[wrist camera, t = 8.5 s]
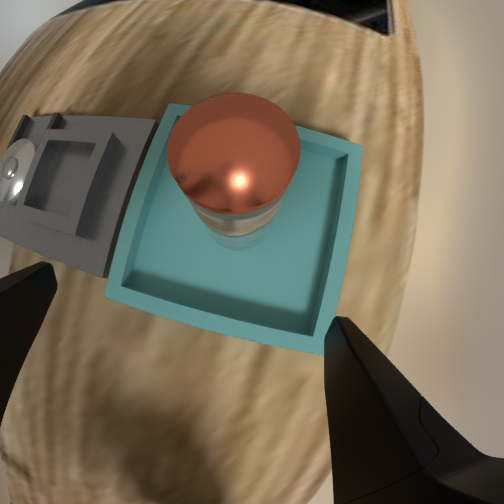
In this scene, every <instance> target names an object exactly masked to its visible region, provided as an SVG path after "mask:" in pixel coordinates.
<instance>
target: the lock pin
mask: <svg viewBox="0 0 504 504" xmlns="http://www.w3.org/2000/svg"><path fill="white" fill-rule="evenodd" d="M300 155H301V144H300V138H299V135H298V132H297V129H296V127H295V125H294V124H293V122H292V120H291V119H290V118H289V116H288V115H287V114H286V113H285V112H284V111H283V110H282V109H280V108H279V107H278V106H276V105H275V104H274V103H272V102H270V101H268V100H266V99H264V98H261V97H258V96H254V95H250V94H244V93H227V94H221V95H216V96H213V97H210V98H207V99H205V100H203V101H201V102H199V103H197V104H195V105H194V106H192V107H191V108H190V109H188V110H187V111H186V112H185V113H184V114H183V115H182V116H181V117H180V118H179V120H178V121H177V122H176V124H175V125H174V127H173V129H172V131H171V134H170V136H169V139H168V144H167V162H168V166H169V169H170V172H171V174H172V176H173V178H174V180H175V181H176V183H177V184H178V186H179V187H180V189H181V190H182V192H183V193H184V195H185V196H186V198H187V200H188V201H189V203H190V204H191V206H192V207H193V209H194V210H195V212H196V213H197V215H198V216H199V218H200V219H201V221H202V222H203V224H204V225H205V226H206V228H207V229H208V231H209V232H210V234H211V235H212V237H213V238H214V239H215V241H216V242H217V243H219V244H220V245H221V246H223V247H225V248H227V249H230V250H237V251H240V250H247V249H250V248H252V247H254V246H256V245H257V244H259V243H260V242H261V241H262V240H263V239H264V237H265V236H266V234H267V232H268V230H269V228H270V226H271V223H272V221H273V219H274V217H275V215H276V213H277V211H278V208H279V206H280V204H281V202H282V200H283V198H284V196H285V193H286V191H287V189H288V187H289V185H290V183H291V180H292V178H293V176H294V174H295V172H296V170H297V167H298V164H299V161H300Z"/></svg>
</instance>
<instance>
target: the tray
mask: <svg viewBox="0 0 504 504" xmlns="http://www.w3.org/2000/svg"><path fill="white" fill-rule="evenodd" d="M191 107H192V105H183V104H174V103H169V105H168V107H167V109H166V111H165V113H164V116H163V118H162V120H161V122H160V124H159V127H158V129H157V131H156V133H155V136H154V138H153V140H152V143H151V145H150V148H149V150H148V152H147V155H146V157H145V160H144V163H143V165H142V168H141V170H140V173H139V176H138V179H137V181H136V184H135V187H134V190H133V193H132V196H131V199H130V202H129V205H128V208H127V211H126V214H125V217H124V220H123V224H122V227H121V231H120V234H119V238H118V241H117V245H116V249H115V252H114V256H113V260H112V264H111V269H110V273H109V277H108V282H107V286H106V291H105V296H104V297H106V298H109V299H112V300H114V301H117V302H120V303H123V304H126V305H128V306H131V307H134V308H137V309H140V310H143V311H146V312H149V313H152V314H155V315H158V316H162V317H165V318H168V319H171V320H175V321H178V322H181V323H185V324H188V325H192V326H195V327H199V328H202V329H206V330H210V331H213V332H217V333H221V334H225V335H229V336H233V337H237V338H241V339H245V340H249V341H254V342H258V343H263V344H267V345H272V346H277V347H281V348H286V349H291V350H297V351H302V352H307V353H313V354H319V355H324V338H325V335H326V333H327V330H328V328H329V326H330V324H331V322H332V320H333V318H334V317H335V313H336V309H337V304H338V300H339V296H340V291H341V287H342V282H343V278H344V273H345V268H346V263H347V258H348V252H349V247H350V241H351V236H352V230H353V223H354V217H355V210H356V203H357V196H358V188H359V180H360V172H361V162H362V151H363V146H361V145H358V144H355V143H352V142H349V141H346V140H343V139H340V138H337V137H334V136H331V135H327V134H324V133H321V132H317V131H314V130H310V129H307V128H303V127H299V126H296V125H295V127H296V129H297V132H298V135H299V138H300V144H301V155H300V161H299V164H298V167H297V170H296V172H295V174H294V176H293V178H292V180H291V183H290V185H289V187H288V189H287V191H286V193H285V196H284V198H283V200H282V202H281V204H280V206H279V208H278V211H277V213H276V215H275V217H274V219H273V221H272V223H271V226H270V228H269V230H268V232H267V234H266V236H265V237H264V239H263V240H262V241H261V242H260V243H259V244H257V245H256V246H254V247H252V248H250V249H247V250H240V251H237V250H230V249H227V248H225V247H223V246H221V245H220V244H219V243H217V242H216V241H215V239H214V238H213V237H212V235H211V234H210V232H209V231H208V229H207V228H206V226H205V225H204V224H203V222H202V221H201V219H200V218H199V216H198V215H197V213H196V212H195V210H194V209H193V207H192V206H191V204H190V203H189V201H188V200H187V198H186V196H185V195H184V193H183V192H182V190H181V189H180V187H179V186H178V184H177V183H176V181H175V180H174V178H173V176H172V174H171V172H170V169H169V166H168V162H167V144H168V139H169V136H170V134H171V131H172V129H173V127H174V125H175V124H176V122H177V121H178V120H179V118H180V117H181V116H182V115H183V114H184V113H185V112H186V111H187V110H188V109H190V108H191Z"/></svg>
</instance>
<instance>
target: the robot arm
mask: <svg viewBox="0 0 504 504" xmlns="http://www.w3.org/2000/svg"><path fill="white" fill-rule="evenodd" d="M56 291H57V280H56V276H55V273H54V269H53V266H52V264H50V263H47V262H43V261H42V262H39V263H36V264H34V265H31V266H29V267H26V268H24V269H22V270H19V271H17V272H15V273H12V274H10V275H8V276H5V277H3V278H1V279H0V426H1V422H2V419H3V416H4V413H5V410H6V407H7V404H8V401H9V398H10V395H11V393H12V390H13V387H14V385H15V382H16V380H17V377H18V375H19V372H20V370H21V368H22V365H23V363H24V361H25V359H26V356H27V354H28V352H29V350H30V348H31V346H32V344H33V342H34V340H35V337H36V335H37V334H38V332H39V329H40V327H41V325H42V323H43V321H44V318H45V316H46V313H47V311H48V309H49V307H50V304H51V302H52V300H53V298H54V296H55V293H56ZM324 387H325V397H326V406H327V416H328V426H329V436H330V448H331V461H332V475H333V494H334V504H504V458H496V457H491V456H488V455H485V454H483V453H481V452H480V451H478V450H477V449H476V448H475V447H473V445H472V444H470V443H469V442H468V441H467V440H466V439H465V438H464V437H463V436H462V435H461V434H460V433H459V432H458V431H456V430H455V429H454V428H453V427H452V426H451V425H450V424H449V423H448V422H447V421H446V420H445V419H444V418H443V417H442V416H441V415H440V414H439V413H438V412H437V411H436V410H435V409H434V408H433V407H432V406H431V405H430V404H429V403H428V401H426V399H425V398H424V397H423V396H421V394H420V393H419V392H418V391H417V390H416V388H414V386H412V384H411V383H410V382H409V381H408V380H407V379H406V378H405V377H404V375H403V374H402V373H401V372H400V371H399V370H398V369H397V368H396V367H395V366H394V365H393V364H392V363H391V362H390V360H388V358H387V357H386V356H385V355H384V354H383V353H382V352H381V351H380V350H379V349H378V348H377V347H376V346H375V345H374V344H373V342H372V341H371V340H370V339H369V338H368V337H367V336H366V335H365V334H364V333H363V332H362V331H361V330H360V329H359V328H358V327H357V326H356V325H355V324H354V323H353V322H352V321H351V320H350V319H349V318H348V317H342V316H336V317H334V318H333V320H332V322H331V324H330V326H329V328H328V330H327V333H326V335H325V338H324Z"/></svg>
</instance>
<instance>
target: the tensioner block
mask: <svg viewBox="0 0 504 504" xmlns="http://www.w3.org/2000/svg"><path fill="white" fill-rule="evenodd" d="M158 127H159V125H158V123H157V121H156V120H154V119H143V118H131V117H114V116H61V115H60V114H59V113H54V115H53V116H40V117H28V116H27V115H23V117H22V118H21V120H20V122H19V124H18V126H17V128H16V130H15V132H14V134H13V136H12V139H11V141H10V143H9V145H8V147H7V150H6V152H5V153H4V155H3V156H2V158H1V160H0V236H1V237H3V238H5V239H7V240H10V241H11V242H14V243H16V244H18V245H20V246H23V247H25V248H27V249H30V250H32V251H34V252H37V253H39V254H42V255H44V256H46V257H49V258H51V259H54V260H56V261H59V262H61V263H64V264H67V265H69V266H72V267H74V268H77V269H80V270H82V271H85V272H88V273H91V274H93V275H96V276H99V277H102V278H108V277H109V273H110V269H111V264H112V260H113V256H114V252H115V249H116V245H117V241H118V238H119V234H120V231H121V227H122V224H123V220H124V217H125V214H126V211H127V208H128V205H129V202H130V199H131V196H132V193H133V190H134V187H135V184H136V181H137V179H138V176H139V173H140V170H141V168H142V165H143V163H144V160H145V157H146V155H147V152H148V150H149V148H150V145H151V143H152V140H153V138H154V136H155V133H156V131H157V129H158Z"/></svg>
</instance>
